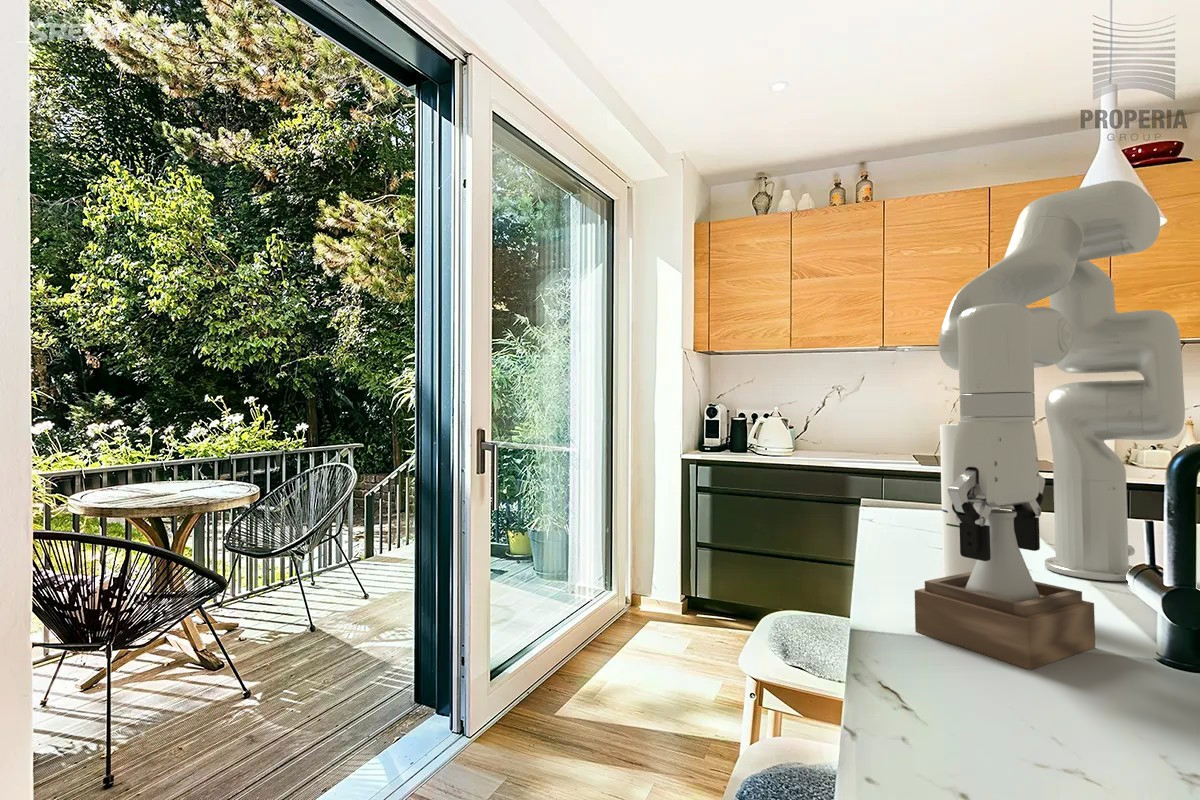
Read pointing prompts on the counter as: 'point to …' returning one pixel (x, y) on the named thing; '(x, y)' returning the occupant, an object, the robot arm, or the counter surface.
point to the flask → (1003, 563)
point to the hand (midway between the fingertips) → (1000, 553)
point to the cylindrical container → (950, 526)
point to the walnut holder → (1006, 621)
